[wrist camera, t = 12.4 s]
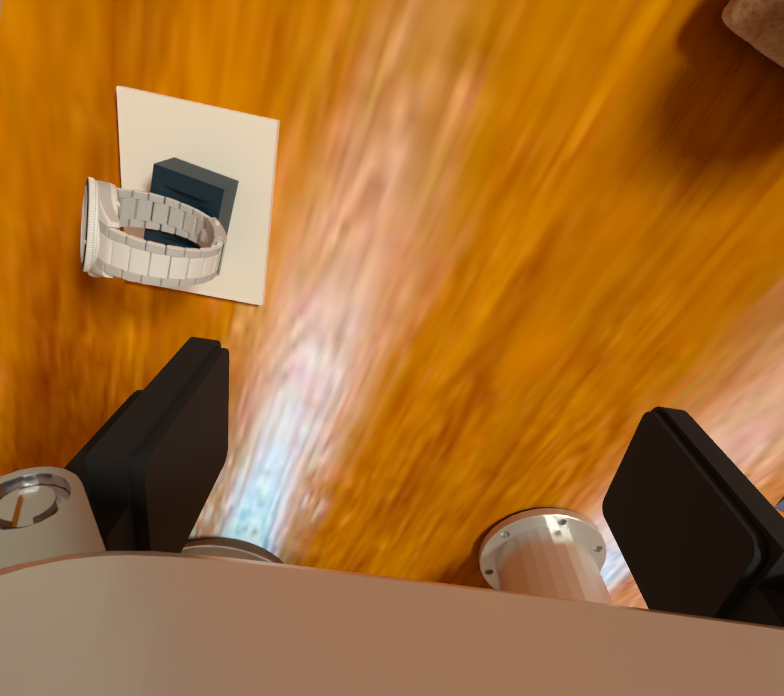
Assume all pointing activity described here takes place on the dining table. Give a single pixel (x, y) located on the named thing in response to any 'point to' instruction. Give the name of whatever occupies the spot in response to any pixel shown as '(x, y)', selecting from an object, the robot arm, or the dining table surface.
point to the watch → (159, 226)
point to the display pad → (218, 154)
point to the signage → (780, 505)
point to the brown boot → (758, 25)
